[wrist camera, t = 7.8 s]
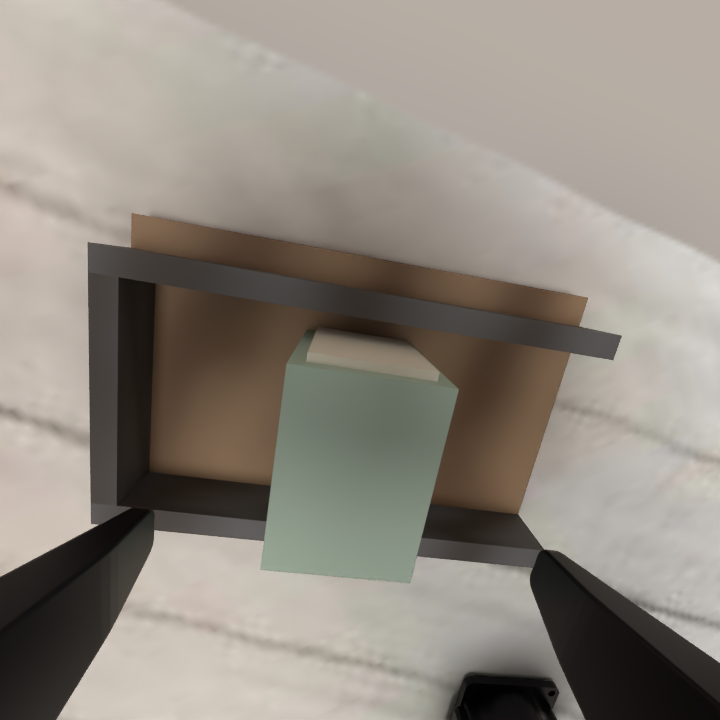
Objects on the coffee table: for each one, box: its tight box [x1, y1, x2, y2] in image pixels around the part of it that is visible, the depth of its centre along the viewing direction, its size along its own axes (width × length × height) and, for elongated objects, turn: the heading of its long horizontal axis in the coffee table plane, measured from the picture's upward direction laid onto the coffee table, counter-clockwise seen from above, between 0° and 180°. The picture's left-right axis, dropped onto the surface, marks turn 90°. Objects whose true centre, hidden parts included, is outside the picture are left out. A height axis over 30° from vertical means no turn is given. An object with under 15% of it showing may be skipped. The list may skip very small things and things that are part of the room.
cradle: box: [88, 213, 622, 568], centre depth 16 cm, size 20×14×4 cm
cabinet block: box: [260, 327, 459, 583], centre depth 13 cm, size 5×7×6 cm
